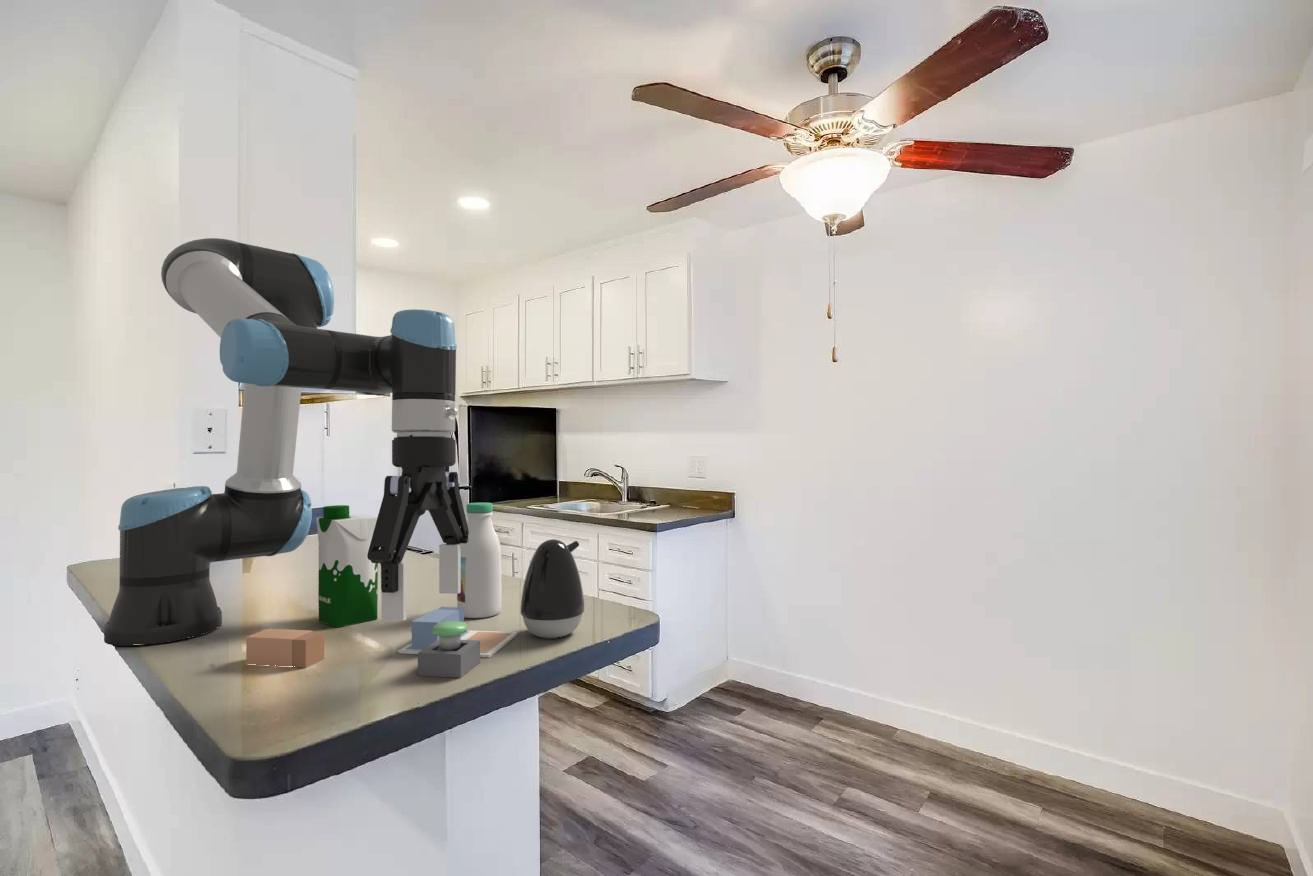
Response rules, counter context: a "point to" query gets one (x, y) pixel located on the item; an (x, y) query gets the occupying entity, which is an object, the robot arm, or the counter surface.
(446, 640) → the button
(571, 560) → the pump dispenser
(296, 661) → the block
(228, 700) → the counter surface
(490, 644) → the picture board
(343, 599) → the milk carton
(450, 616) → the block
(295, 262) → the robot arm
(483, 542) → the milk bottle
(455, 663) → the button housing
